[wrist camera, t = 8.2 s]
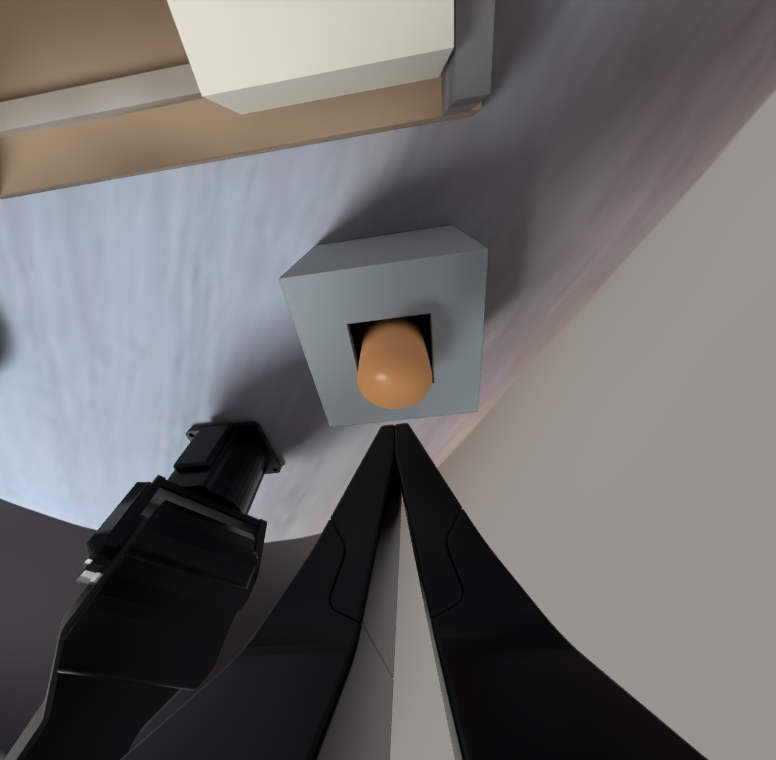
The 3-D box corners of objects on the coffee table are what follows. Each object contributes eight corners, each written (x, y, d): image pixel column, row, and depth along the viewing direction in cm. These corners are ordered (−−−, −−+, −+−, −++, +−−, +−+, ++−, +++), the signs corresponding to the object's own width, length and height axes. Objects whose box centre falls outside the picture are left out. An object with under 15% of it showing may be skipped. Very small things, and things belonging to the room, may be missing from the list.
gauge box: (452, 348, 21) (478, 411, 15) (344, 360, 21) (330, 427, 16) (451, 225, 16) (488, 248, 10) (315, 245, 17) (278, 278, 11)
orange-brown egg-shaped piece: (424, 361, 15) (434, 405, 12) (368, 368, 15) (364, 412, 12) (420, 307, 13) (430, 342, 10) (357, 315, 14) (349, 352, 11)
